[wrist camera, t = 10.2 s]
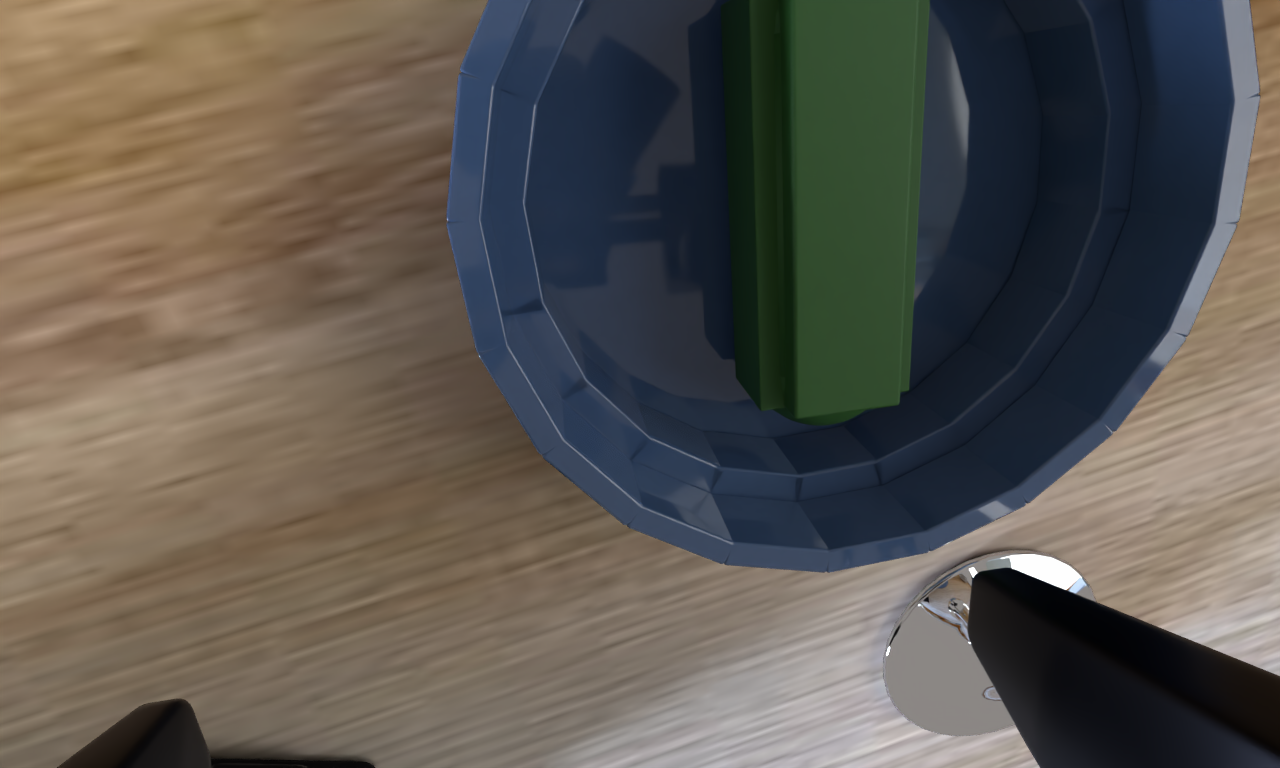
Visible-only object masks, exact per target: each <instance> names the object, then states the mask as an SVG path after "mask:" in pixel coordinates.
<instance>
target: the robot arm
mask: <svg viewBox="0 0 1280 768" xmlns="http://www.w3.org/2000/svg"><path fill="white" fill-rule="evenodd" d="M967 630H968V637H969V641H970V643H971V646H972V648H973V650H974V652H975V654H976V656H977V658H978V659H979V661H980V663H981V665H982V666H983V668H984V670H985V672H986V674H987V675H988V677H989V679H990V681H991V682H992V684H993V686H994V688H995V690H996V691H997V693H998V695H999V697H1000V698H1001V700H1002V702H1003V704H1004V706H1005V707H1006V709H1007V711H1008V713H1009V714H1010V716H1011V718H1012V720H1013V722H1014V723H1015V725H1016V727H1017V729H1018V730H1019V732H1020V734H1021V736H1022V738H1023V739H1024V741H1025V743H1026V745H1027V747H1028V748H1029V750H1030V752H1031V753H1032V755H1033V757H1034V758H1035V760H1036V762H1037V763H1038V765H1039V767H1040V768H1280V676H1278V675H1275V674H1273V673H1270V672H1268V671H1265V670H1263V669H1260V668H1258V667H1256V666H1253V665H1251V664H1248V663H1246V662H1243V661H1241V660H1238V659H1236V658H1233V657H1231V656H1228V655H1226V654H1223V653H1221V652H1218V651H1216V650H1213V649H1211V648H1209V647H1206V646H1204V645H1201V644H1199V643H1196V642H1194V641H1191V640H1189V639H1186V638H1184V637H1181V636H1179V635H1176V634H1174V633H1171V632H1169V631H1166V630H1164V629H1162V628H1159V627H1157V626H1154V625H1152V624H1149V623H1147V622H1144V621H1142V620H1139V619H1137V618H1134V617H1132V616H1129V615H1127V614H1124V613H1122V612H1119V611H1117V610H1115V609H1112V608H1110V607H1107V606H1105V605H1102V604H1100V603H1097V602H1095V601H1092V600H1090V599H1087V598H1085V597H1082V596H1080V595H1077V594H1075V593H1073V592H1070V591H1068V590H1065V589H1063V588H1060V587H1058V586H1055V585H1053V584H1050V583H1048V582H1045V581H1043V580H1040V579H1038V578H1035V577H1033V576H1031V575H1028V574H1026V573H1023V572H1021V571H1018V570H1016V569H1013V568H1007V567H1005V568H998V569H992V570H985V571H980V572H978V573H977V574H976V575H975V576H974V578H973V580H972V585H971V594H970V604H969V614H968V624H967ZM57 768H375V767H374V765H372V764H370V763H367V762H356V761H308V760H260V759H212V758H210V754H209V750H208V748H207V745H206V742H205V740H204V737H203V734H202V732H201V729H200V727H199V724H198V721H197V719H196V716H195V713H194V711H193V708H192V707H191V705H190V704H189V703H188V702H187V701H186V700H184V699H171V700H165V701H159V702H152V703H148V704H144V705H142V706H139V707H138V708H136V709H135V710H134V711H132V712H131V713H130V714H128V715H127V716H126V717H124V718H123V719H122V720H120V721H119V722H117V723H116V724H115V725H113V726H112V727H111V728H109V729H108V730H107V731H105V732H104V733H103V734H101V735H100V736H99V737H97V738H96V739H95V740H93V741H92V742H91V743H89V744H88V745H87V746H85V747H84V748H82V749H81V750H80V751H78V752H77V753H76V754H74V755H73V756H72V757H70V758H69V759H68V760H66V761H65V762H64V763H62V764H61V765H60V766H58V767H57Z"/></svg>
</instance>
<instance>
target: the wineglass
mask: <svg viewBox="0 0 1280 768" xmlns="http://www.w3.org/2000/svg"><path fill="white" fill-rule="evenodd" d="M1005 567H1007V568H1013V569H1016V570H1018V571H1021V572H1023V573H1026V574H1028V575H1031V576H1033V577H1035V578H1038V579H1040V580H1043V581H1045V582H1048V583H1050V584H1053V585H1055V586H1058V587H1060V588H1063V589H1065V590H1068V591H1070V592H1073V593H1075V594H1077V595H1080V596H1082V597H1085V598H1087V599H1090V600H1092V601H1095V602H1097V601H1096V599H1095V596H1094V593H1093V590H1092V588H1091V586H1090V584H1089V583H1088V582H1087V580H1086V579H1085V578H1084V576H1083V575H1082V573H1081V572H1079V571H1078V570H1077V569H1076V568H1074V567H1073V566H1072V565H1071V564H1069V563H1068V562H1067V561H1065V560H1062V559H1060V558H1058V557H1055V556H1053V555H1051V554H1047V553H1042V552H1037V551H1031V550H1007V551H1002V552H996V553H991V554H986V555H983V556H980V557H977V558H975V559H972V560H969V561H966V562H964V563H962V564H960V565H958V566H956V567H954V568H953V569H951V570H949V571H947V572H945V573H943V574H942V575H941V576H939V577H938V578H937V579H935V580H934V581H933V582H931V583H930V584H929V585H927V586H926V587H925V588H924V589H923V590H922V591H921V592H920V593H919V594H918V595H917V596H916V597H915V598H914V599H913V600H912V601H911V602H910V603H909V604H908V605H907V607H906V608H905V610H904V611H903V613H902V614H901V615H900V617H899V618H898V620H897V621H896V623H895V625H894V627H893V629H892V631H891V634H890V636H889V638H888V640H887V644H886V648H885V652H884V657H883V679H884V683H885V687H886V691H887V694H888V696H889V697H890V699H891V701H892V703H893V705H894V706H895V708H896V709H897V710H898V711H899V712H900V713H901V714H902V715H903V716H904V717H905V718H906V719H907V720H909V721H910V722H912V723H914V724H915V725H917V726H919V727H920V728H922V729H925V730H928V731H931V732H934V733H937V734H942V735H951V736H973V735H981V734H986V733H990V732H995V731H999V730H1001V729H1004V728H1007V727H1010V726H1012V725H1015V723H1014V722H1013V720H1012V718H1011V716H1010V714H1009V713H1008V711H1007V709H1006V707H1005V706H1004V704H1003V702H1002V700H1001V698H1000V697H999V695H998V693H997V691H996V690H995V688H994V686H993V684H992V682H991V681H990V679H989V677H988V675H987V674H986V672H985V670H984V668H983V666H982V665H981V663H980V661H979V659H978V658H977V656H976V654H975V652H974V650H973V648H972V646H971V643H970V641H969V637H968V630H967V624H968V614H969V604H970V594H971V585H972V580H973V578H974V576H975V575H976V574H977V573H978V572H980V571H985V570H992V569H998V568H1005Z"/></svg>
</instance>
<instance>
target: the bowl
mask: <svg viewBox="0 0 1280 768" xmlns="http://www.w3.org/2000/svg"><path fill="white" fill-rule="evenodd" d="M727 1H729V0H488V2H487V4H486V7H485V9H484V11H483V14H482V16H481V19H480V21H479V23H478V26H477V28H476V30H475V33H474V35H473V38H472V40H471V42H470V45H469V47H468V50H467V52H466V54H465V57H464V59H463V61H462V64H461V66H460V71H461V73H459V75H458V83H457V95H456V107H455V119H454V131H453V142H452V154H451V166H450V178H449V190H448V202H447V213H446V218H447V221H448V222H447V224H446V226H447V230H448V234H449V238H450V243H451V247H452V251H453V255H454V260H455V264H456V268H457V272H458V277H459V281H460V285H461V289H462V293H463V298H464V302H465V306H466V310H467V315H468V319H469V323H470V327H471V332H472V336H473V340H474V344H475V349H476V351H477V353H478V355H479V358H480V359H481V361H482V362H483V364H484V366H485V367H486V369H487V371H488V372H489V374H490V375H491V377H492V379H493V380H494V382H495V383H496V385H497V387H498V388H499V390H500V392H501V393H502V395H503V396H504V398H505V400H506V401H507V403H508V405H509V406H510V408H511V409H512V411H513V413H514V414H515V416H516V417H517V419H518V421H519V422H520V424H521V426H522V427H523V429H524V430H525V432H526V434H527V435H528V437H529V438H530V440H531V442H532V443H533V445H534V447H535V448H536V450H537V451H538V453H539V454H540V455H542V457H543V458H544V459H545V460H546V461H547V462H548V463H550V464H551V465H552V466H553V467H554V468H556V469H557V470H558V471H559V472H560V473H562V474H563V475H564V476H565V477H567V478H568V479H569V480H570V481H571V482H573V483H574V484H575V485H576V486H577V487H579V488H580V489H581V490H582V491H583V492H585V493H586V494H587V495H588V496H589V497H591V498H592V499H593V500H594V501H596V502H597V503H598V504H599V505H600V506H602V507H603V508H604V509H605V510H606V511H608V512H609V513H610V514H611V515H612V516H614V517H615V518H616V519H617V520H618V521H620V522H621V523H622V524H623V525H627V527H629V528H631V529H633V530H636V531H638V532H641V533H643V534H646V535H649V536H651V537H654V538H656V539H659V540H661V541H664V542H666V543H669V544H672V545H674V546H677V547H679V548H682V549H684V550H687V551H689V552H692V553H694V554H697V555H700V556H702V557H705V558H707V559H710V560H712V561H715V562H717V563H720V564H723V563H724V564H725V565H731V566H744V567H757V568H770V569H784V570H797V571H810V572H823V573H824V572H828V573H830V572H835V571H840V570H844V569H849V568H854V567H859V566H864V565H869V564H874V563H879V562H884V561H889V560H894V559H899V558H904V557H909V556H914V555H919V554H924V553H928V552H929V551H933V550H935V549H937V548H939V547H941V546H943V545H945V544H947V543H950V542H952V541H954V540H956V539H958V538H960V537H962V536H964V535H966V534H968V533H970V532H972V531H974V530H976V529H978V528H981V527H983V526H985V525H987V524H989V523H991V522H993V521H995V520H997V519H999V518H1001V517H1003V516H1005V515H1007V514H1009V513H1012V512H1014V511H1016V510H1018V509H1020V508H1022V507H1024V506H1025V505H1026V503H1027V504H1028V503H1030V502H1031V501H1032V500H1033V499H1035V498H1036V497H1037V496H1038V495H1040V494H1041V493H1042V492H1043V491H1044V490H1046V489H1047V488H1048V487H1049V486H1051V485H1052V484H1053V483H1054V482H1055V481H1057V480H1058V479H1059V478H1060V477H1061V476H1063V475H1064V474H1065V473H1066V472H1068V471H1069V470H1070V469H1071V468H1072V467H1074V466H1075V465H1076V464H1077V463H1079V462H1080V461H1081V460H1082V459H1083V458H1085V457H1086V456H1087V455H1088V454H1089V453H1091V452H1092V451H1093V450H1094V449H1096V448H1097V447H1098V446H1099V445H1100V444H1102V443H1103V442H1104V441H1105V440H1107V439H1108V438H1109V437H1110V436H1111V435H1112V434H1113V431H1114V432H1115V431H1117V429H1118V428H1119V427H1120V425H1121V424H1122V423H1123V422H1124V420H1125V419H1126V418H1127V416H1128V415H1129V414H1130V412H1131V411H1132V410H1133V408H1134V407H1135V406H1136V405H1137V403H1138V402H1139V401H1140V399H1141V398H1142V397H1143V395H1144V394H1145V393H1146V392H1147V390H1148V389H1149V388H1150V386H1151V385H1152V384H1153V382H1154V381H1155V380H1156V378H1157V377H1158V376H1159V375H1160V373H1161V372H1162V371H1163V369H1164V368H1165V367H1166V365H1167V364H1168V363H1169V361H1170V360H1171V359H1172V358H1173V356H1174V355H1175V354H1176V352H1177V351H1178V350H1179V348H1180V347H1181V346H1182V345H1183V343H1184V342H1185V341H1186V338H1185V337H1187V336H1188V335H1189V333H1190V331H1191V329H1192V326H1193V324H1194V322H1195V320H1196V317H1197V315H1198V313H1199V311H1200V308H1201V306H1202V304H1203V302H1204V299H1205V297H1206V295H1207V293H1208V291H1209V288H1210V286H1211V284H1212V282H1213V279H1214V277H1215V275H1216V273H1217V270H1218V268H1219V266H1220V264H1221V261H1222V259H1223V257H1224V255H1225V252H1226V250H1227V248H1228V246H1229V243H1230V241H1231V239H1232V237H1233V234H1234V232H1235V230H1236V228H1237V224H1236V223H1237V222H1239V220H1240V214H1241V208H1242V202H1243V196H1244V191H1245V185H1246V179H1247V173H1248V167H1249V161H1250V155H1251V150H1252V144H1253V138H1254V132H1255V126H1256V120H1257V115H1258V109H1259V103H1260V95H1258V94H1259V93H1260V84H1259V75H1258V66H1257V57H1256V49H1255V40H1254V31H1253V22H1252V13H1251V4H1250V0H930V9H929V28H928V47H927V65H926V84H925V103H924V121H923V140H922V159H921V177H920V196H919V215H918V233H917V252H916V271H915V289H914V308H913V327H912V345H911V364H910V383H909V391H907V392H900V403H899V405H897V406H890V407H883V408H875V409H868V410H865V411H864V412H862V413H861V414H859V415H857V416H855V417H853V418H851V419H849V420H847V421H844V422H841V423H836V424H831V425H823V426H816V425H807V424H803V423H799V422H795V421H792V420H790V419H787V418H786V417H784V416H782V415H781V414H779V413H777V412H776V411H774V410H766V411H760V409H759V408H758V407H757V405H756V404H755V403H754V401H753V400H752V399H751V397H750V396H749V395H748V393H747V392H746V391H745V389H744V388H743V387H742V385H741V384H740V383H739V381H738V380H737V379H736V370H735V346H734V322H733V297H732V273H731V249H730V224H729V200H728V176H727V152H726V127H725V103H724V79H723V55H722V30H721V5H722V4H724V3H726V2H727Z"/></svg>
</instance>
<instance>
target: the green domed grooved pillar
mask: <svg viewBox="0 0 1280 768" xmlns="http://www.w3.org/2000/svg"><path fill="white" fill-rule="evenodd" d="M929 9H930V0H729V1H727V2H726V3H724V4H722V5H721V30H722V55H723V79H724V103H725V127H726V152H727V176H728V200H729V224H730V249H731V273H732V297H733V322H734V346H735V370H736V379H737V380H738V381H739V383H740V384H741V385H742V387H743V388H744V389H745V391H746V392H747V393H748V395H749V396H750V397H751V399H752V400H753V401H754V403H755V404H756V405H757V407H758V408H759V409H760V411H766V410H774V411H776V412H777V413H779V414H781V415H782V416H784V417H786V418H787V419H790V420H792V421H795V422H799V423H803V424H807V425H816V426H823V425H831V424H836V423H841V422H844V421H847V420H849V419H851V418H853V417H855V416H857V415H859V414H861V413H862V412H864V411H865V410H868V409H875V408H883V407H890V406H897V405H899V403H900V392H907V391H909V383H910V364H911V345H912V327H913V308H914V289H915V271H916V252H917V233H918V215H919V196H920V177H921V159H922V140H923V121H924V103H925V84H926V65H927V47H928V28H929Z"/></svg>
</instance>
